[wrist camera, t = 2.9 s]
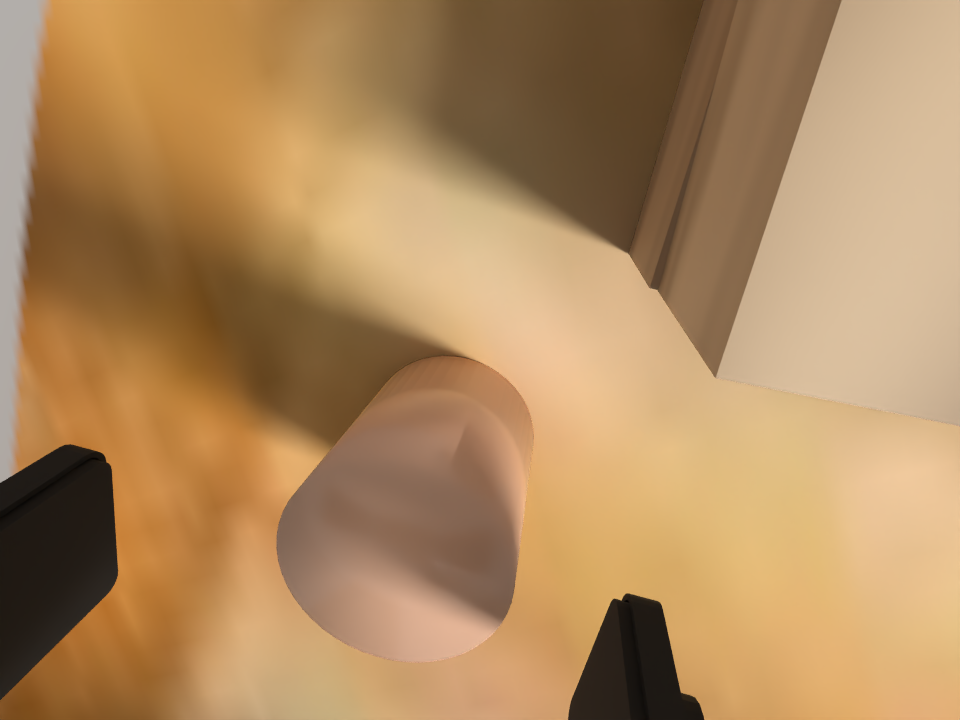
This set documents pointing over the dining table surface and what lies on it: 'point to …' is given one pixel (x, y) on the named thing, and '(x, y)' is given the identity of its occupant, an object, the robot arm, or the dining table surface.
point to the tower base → (681, 141)
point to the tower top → (829, 206)
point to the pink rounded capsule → (415, 515)
